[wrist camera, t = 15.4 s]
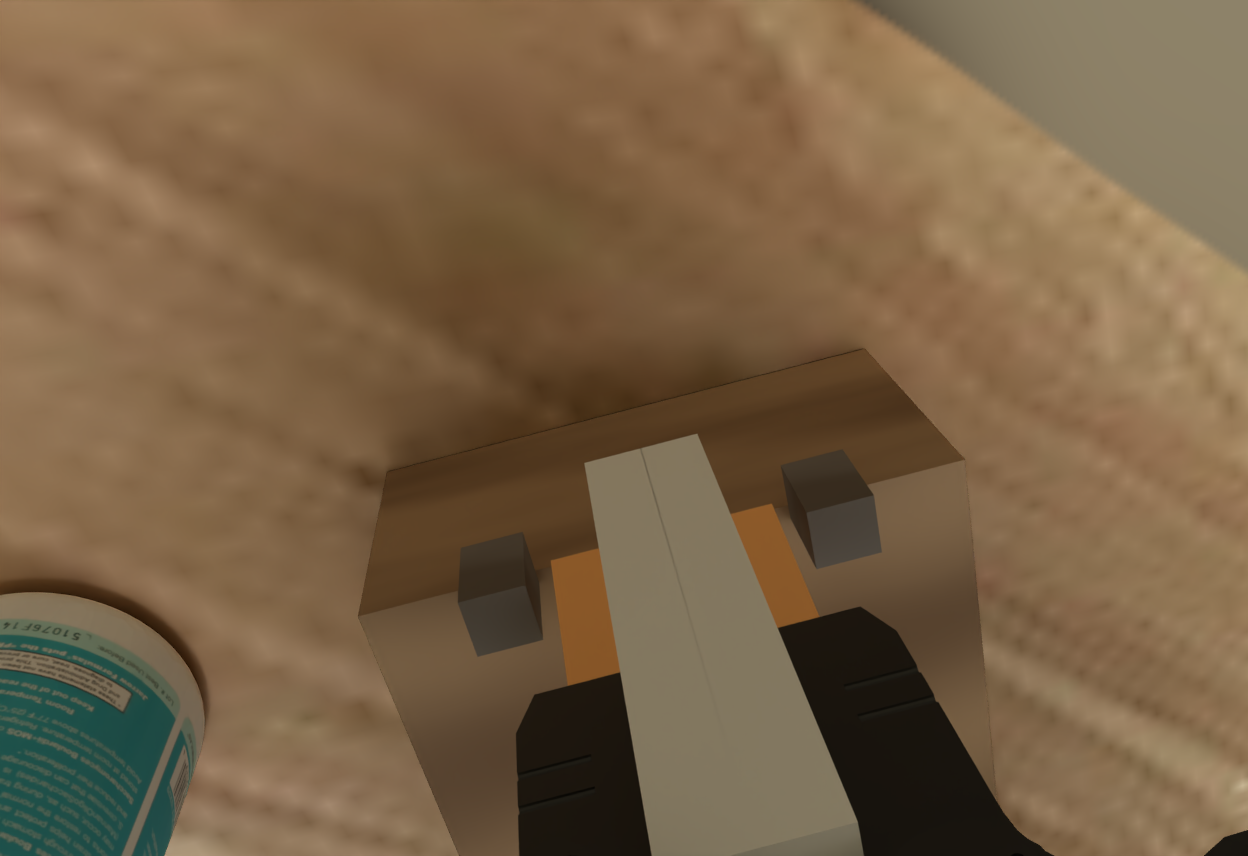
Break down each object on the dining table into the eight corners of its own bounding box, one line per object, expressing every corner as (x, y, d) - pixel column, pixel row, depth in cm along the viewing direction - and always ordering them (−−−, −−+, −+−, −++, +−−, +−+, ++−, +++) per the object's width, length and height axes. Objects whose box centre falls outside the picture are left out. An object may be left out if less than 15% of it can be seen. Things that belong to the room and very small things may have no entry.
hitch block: (927, 814, 32) (1047, 1057, 25) (553, 911, 32) (570, 1181, 25) (860, 314, 25) (1003, 461, 18) (374, 439, 25) (327, 636, 18)
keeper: (566, 607, 19) (550, 560, 18) (779, 552, 19) (771, 503, 18) (612, 920, 14) (593, 873, 13) (899, 847, 14) (894, 795, 13)
